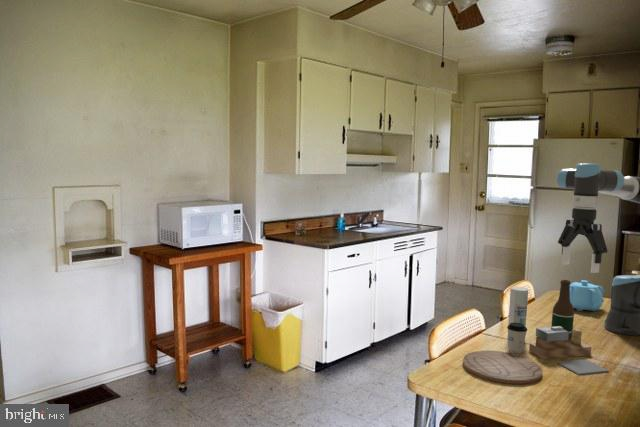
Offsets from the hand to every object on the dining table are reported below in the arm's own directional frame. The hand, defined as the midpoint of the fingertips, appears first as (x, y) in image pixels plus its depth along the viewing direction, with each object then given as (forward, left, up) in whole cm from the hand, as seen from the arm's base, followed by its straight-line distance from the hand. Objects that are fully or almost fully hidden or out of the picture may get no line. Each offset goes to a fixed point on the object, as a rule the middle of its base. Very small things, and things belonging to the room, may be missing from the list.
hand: (579, 268), depth 180 cm
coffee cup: (+17, -10, -33) cm, 38 cm away
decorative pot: (-52, -53, -33) cm, 81 cm away
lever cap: (+6, -5, -26) cm, 27 cm away
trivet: (+32, +3, -33) cm, 46 cm away
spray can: (+8, -22, -33) cm, 40 cm away
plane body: (+2, -5, -32) cm, 33 cm away
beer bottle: (-8, -16, -33) cm, 37 cm away
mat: (+4, +8, -32) cm, 34 cm away
